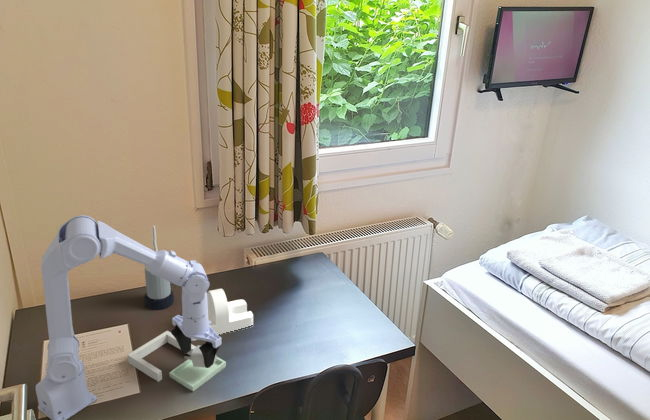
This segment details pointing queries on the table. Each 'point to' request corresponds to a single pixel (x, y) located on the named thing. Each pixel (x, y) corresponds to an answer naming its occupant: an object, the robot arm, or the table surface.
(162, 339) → the bay
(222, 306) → the u-slot stand
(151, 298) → the humidifier
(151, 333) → the table surface
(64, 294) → the robot arm
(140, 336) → the table surface
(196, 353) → the usb wall charger
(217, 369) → the tray
